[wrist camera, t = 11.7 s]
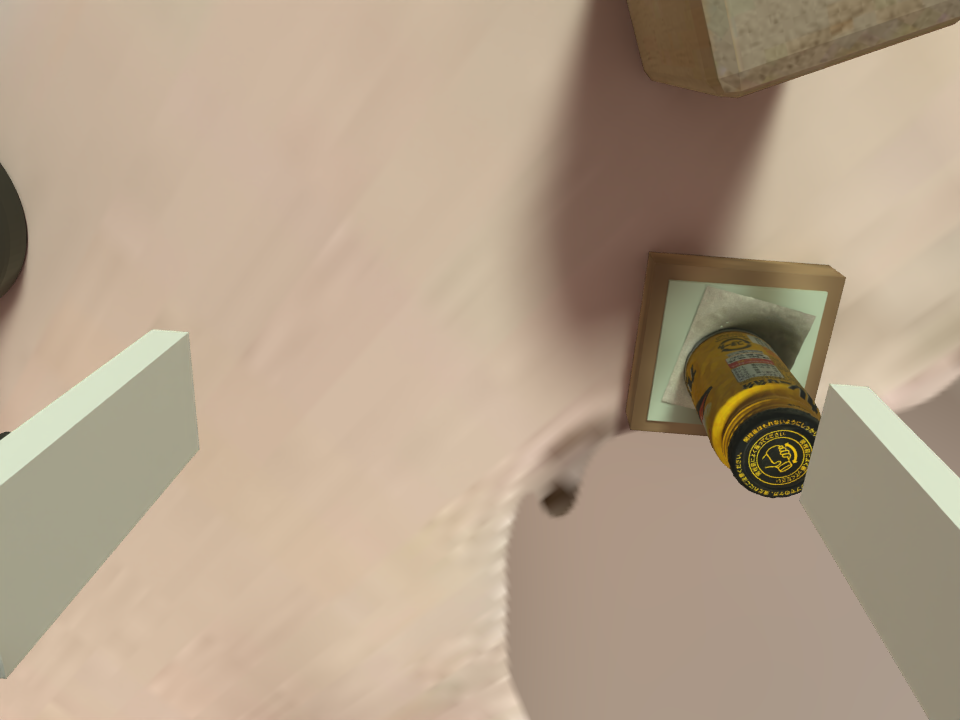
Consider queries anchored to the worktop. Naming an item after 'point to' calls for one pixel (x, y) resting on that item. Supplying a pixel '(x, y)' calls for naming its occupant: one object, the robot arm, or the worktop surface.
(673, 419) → the stand
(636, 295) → the worktop surface
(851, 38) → the wooden block
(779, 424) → the condiment
